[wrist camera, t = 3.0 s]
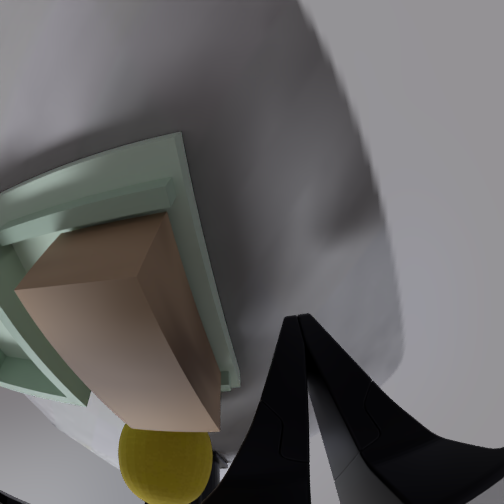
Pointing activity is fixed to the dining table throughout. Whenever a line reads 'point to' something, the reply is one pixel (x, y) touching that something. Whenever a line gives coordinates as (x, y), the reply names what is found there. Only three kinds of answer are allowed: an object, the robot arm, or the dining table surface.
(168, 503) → the lemon
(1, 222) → the tray
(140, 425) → the tan rectangular block
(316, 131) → the dining table surface
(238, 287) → the dining table surface
